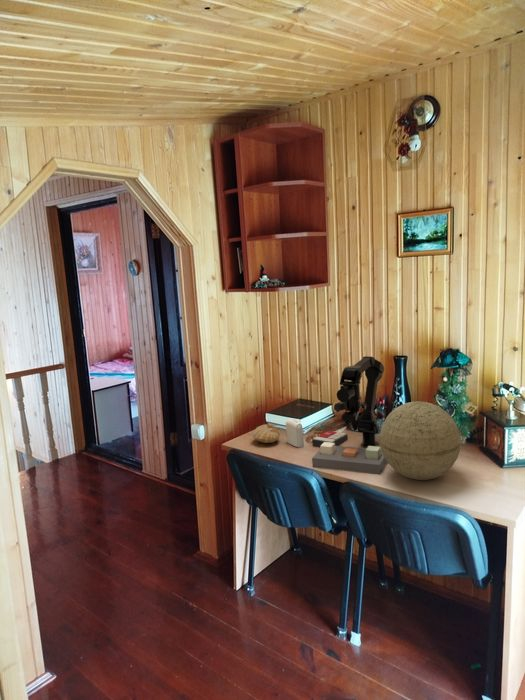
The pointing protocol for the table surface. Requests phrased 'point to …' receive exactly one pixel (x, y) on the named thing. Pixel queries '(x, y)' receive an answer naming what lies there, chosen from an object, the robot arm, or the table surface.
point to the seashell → (266, 433)
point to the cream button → (327, 448)
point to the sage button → (373, 452)
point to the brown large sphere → (420, 440)
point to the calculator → (330, 438)
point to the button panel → (349, 461)
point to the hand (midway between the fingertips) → (355, 429)
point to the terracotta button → (350, 452)
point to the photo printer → (294, 433)
